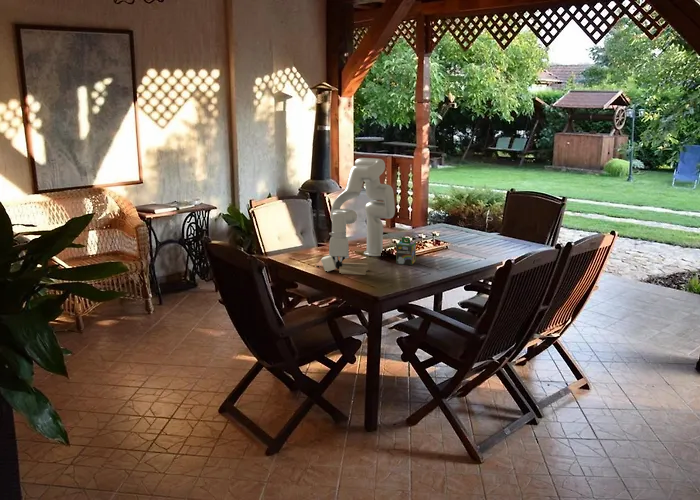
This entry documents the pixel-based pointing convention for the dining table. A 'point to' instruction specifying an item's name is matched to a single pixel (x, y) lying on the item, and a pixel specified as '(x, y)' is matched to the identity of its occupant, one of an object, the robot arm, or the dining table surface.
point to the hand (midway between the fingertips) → (339, 268)
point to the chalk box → (406, 252)
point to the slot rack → (353, 268)
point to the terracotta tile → (319, 263)
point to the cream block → (328, 263)
